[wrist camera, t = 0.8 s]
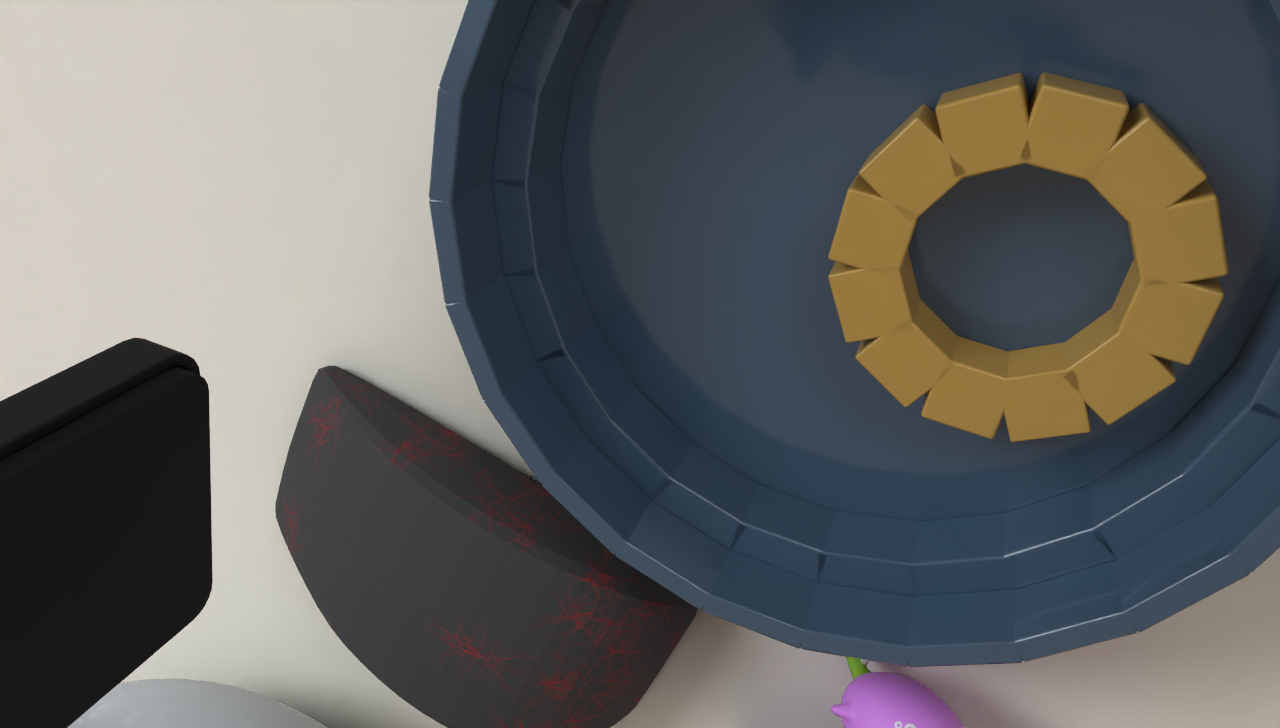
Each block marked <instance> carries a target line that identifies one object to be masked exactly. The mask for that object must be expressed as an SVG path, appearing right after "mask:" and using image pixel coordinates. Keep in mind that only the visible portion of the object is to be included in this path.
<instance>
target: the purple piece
mask: <svg viewBox="0 0 1280 728" xmlns="http://www.w3.org/2000/svg"><path fill="white" fill-rule="evenodd" d="M846 658H847V660H848V664H849V668H850V671H851V674H852V676H853V681H852V682H851V683H850V684H849V685H848V686H847V688H846V689H845V691H844V694H843V697H842V702H841V704H840V705H833V706H832V707H831V711H832V712H833V713H834V714H836V715H837V716H839V717H841V718H842V719H841V721H842V723H843V724H844V728H963V726H962V725H961V723H960V721H959V720H958V718H957V717H956V715H955V714H954V713H953V711H952V710H951V709H950V708H949V706H948V705H947V704H946V703H945V702H944V701H943V700H942V699H941V698H940V697H939V696H938V695H937V694H936V693H934V692H933V691H932V690H931V689H929V688H928V687H927V686H925V685H924V684H922V683H920V682H918V681H916V680H914V679H912V678H910V677H907V676H904V675H901V674H897V673H889V672H875V673H871V672H870V671H869V670H868V668H867V667H866V666H867V664H868V662H869V661H867V660H864V659H858V658H852V657H846Z"/></svg>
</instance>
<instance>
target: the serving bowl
mask: <svg viewBox="0 0 1280 728" xmlns="http://www.w3.org/2000/svg"><path fill="white" fill-rule="evenodd" d="M68 728H328V727H326V726H324V725H323V724H321V723H319V722H317V721H316V720H314V719H312V718H310V717H309V716H307V715H305V714H303V713H301V712H299V711H297V710H295V709H293V708H291V707H289V706H287V705H285V704H282V703H280V702H277V701H275V700H272V699H270V698H267V697H265V696H262V695H259V694H256V693H253V692H249V691H246V690H243V689H239V688H236V687H232V686H228V685H223V684H218V683H213V682H206V681H198V680H188V679H152V680H139V681H132V682H126V683H119V684H118V685H117V686H115V687H114V688H113V689H112V690H111V691H110V692H108V693H107V694H106V695H105V696H104V697H103V698H101V699H100V700H99V701H98V702H97V703H96V704H94V705H93V706H92V707H91V708H90V709H89V710H87V711H86V712H85V713H84V714H83V715H82V716H80V717H79V718H78V719H77V720H76V721H75V722H73V723H72V724H71V725H70V726H69V727H68Z"/></svg>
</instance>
